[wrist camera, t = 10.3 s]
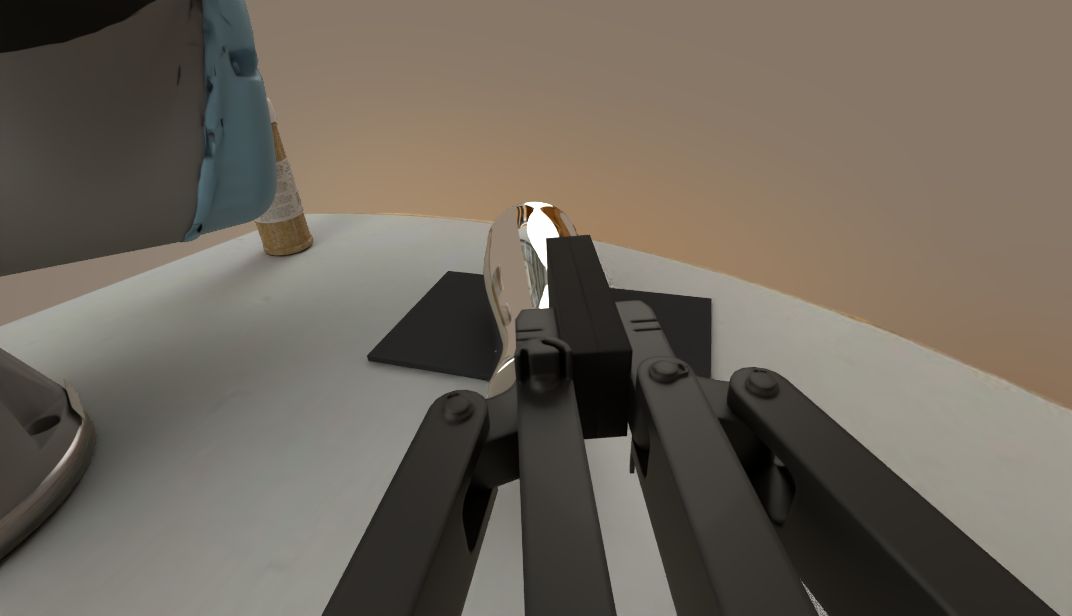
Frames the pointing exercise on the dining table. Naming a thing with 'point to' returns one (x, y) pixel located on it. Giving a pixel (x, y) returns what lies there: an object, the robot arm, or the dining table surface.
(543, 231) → the silver metal tumbler
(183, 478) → the dining table surface
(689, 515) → the robot arm
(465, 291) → the mat
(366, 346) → the dining table surface
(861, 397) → the dining table surface
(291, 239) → the sprinkles bottle
